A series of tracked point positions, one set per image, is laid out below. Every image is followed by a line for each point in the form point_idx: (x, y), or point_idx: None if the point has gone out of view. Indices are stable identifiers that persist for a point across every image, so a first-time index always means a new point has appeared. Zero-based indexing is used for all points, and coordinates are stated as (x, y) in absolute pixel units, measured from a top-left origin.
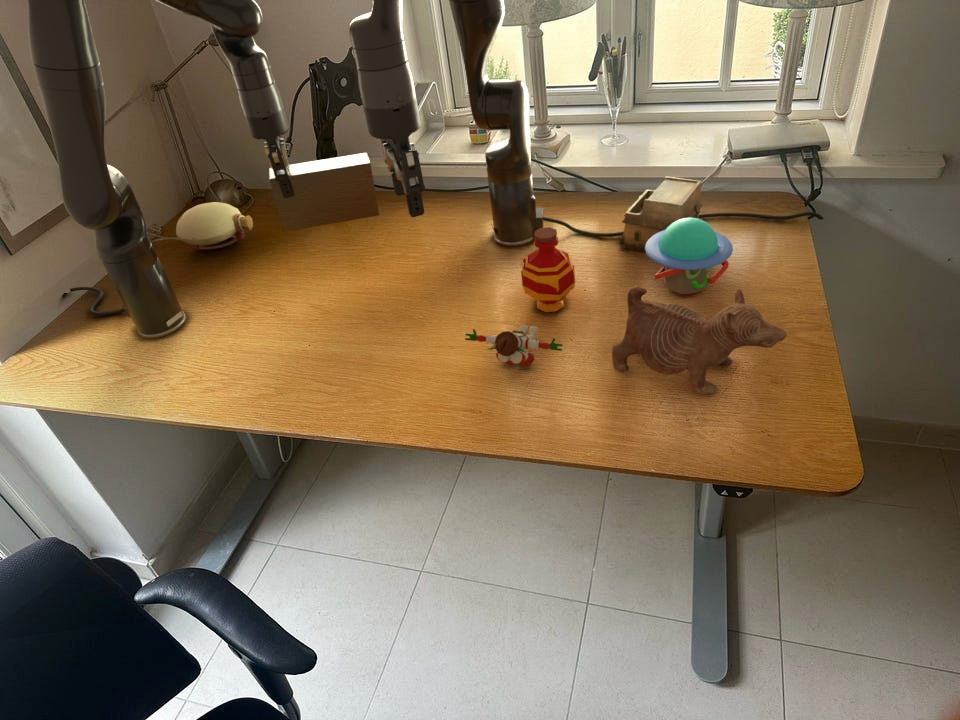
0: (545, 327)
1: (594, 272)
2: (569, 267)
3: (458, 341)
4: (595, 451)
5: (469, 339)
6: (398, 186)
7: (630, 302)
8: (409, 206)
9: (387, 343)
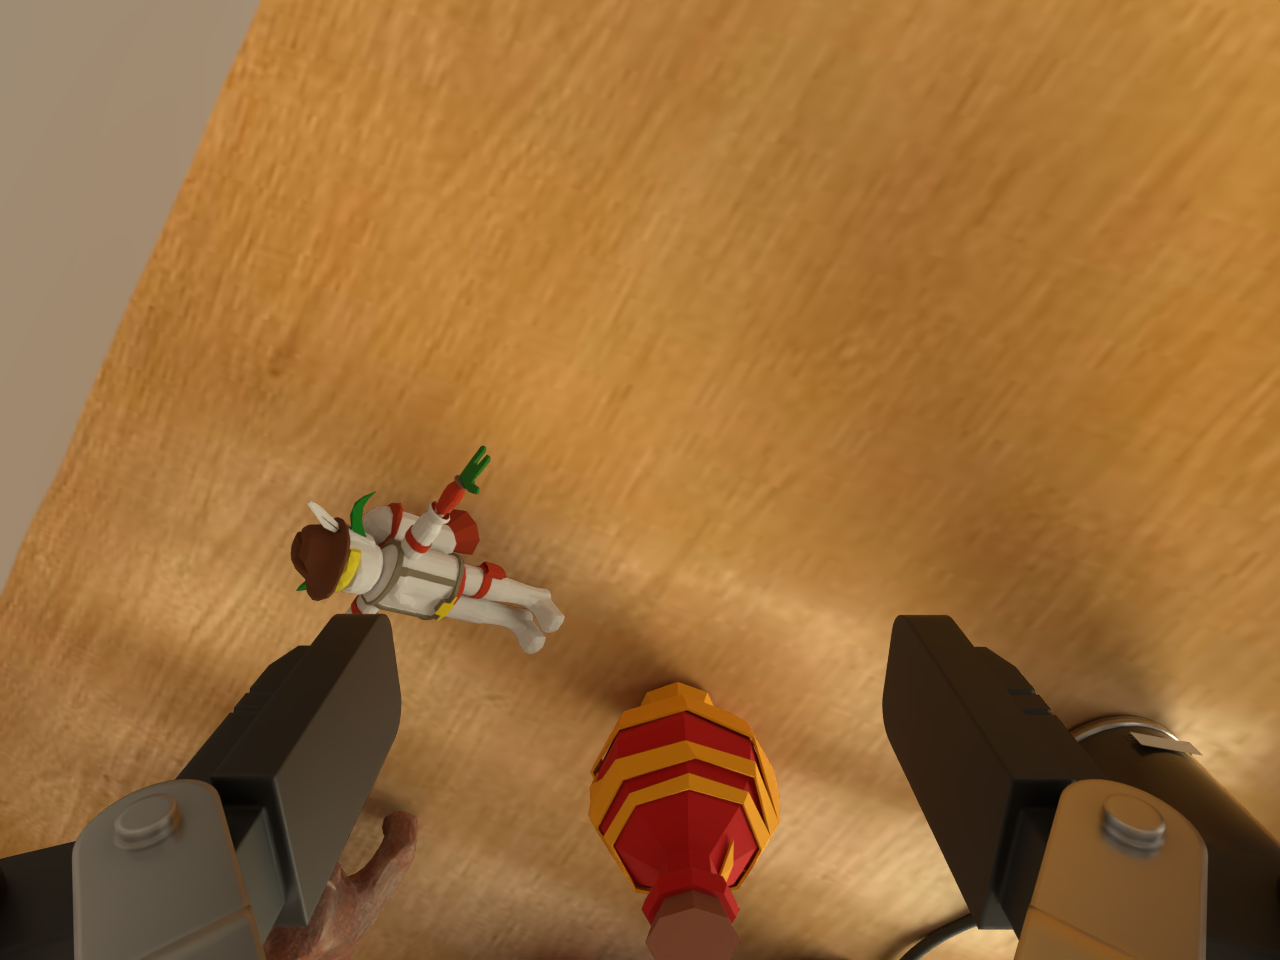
0: (579, 665)
1: (761, 862)
2: (621, 869)
3: (640, 423)
4: (46, 575)
5: (473, 458)
6: (928, 698)
7: (277, 935)
8: (290, 681)
9: (760, 188)
